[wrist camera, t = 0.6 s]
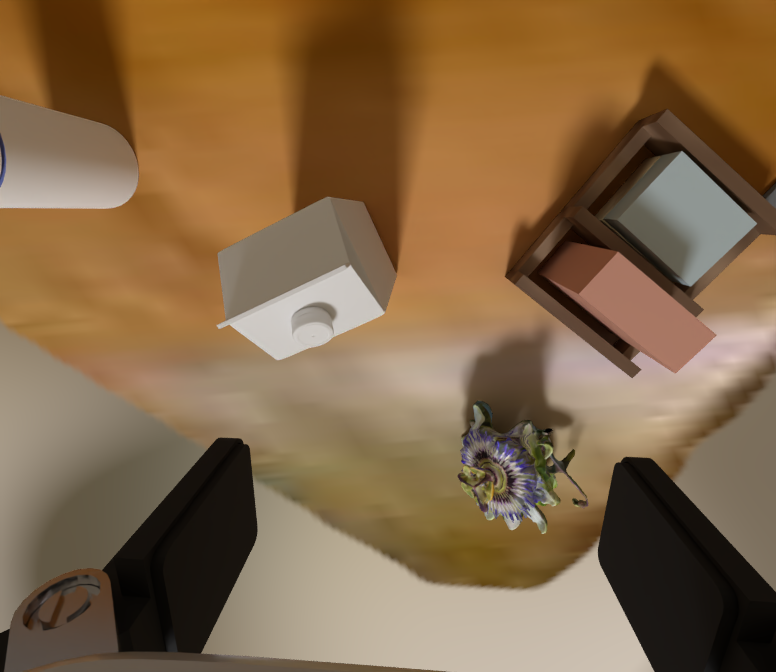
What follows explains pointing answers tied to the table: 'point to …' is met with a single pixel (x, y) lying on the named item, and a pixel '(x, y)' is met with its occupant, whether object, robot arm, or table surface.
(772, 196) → the slate mat
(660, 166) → the offcut upper
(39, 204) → the cylindrical container
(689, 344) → the pink rectangular block
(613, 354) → the rack
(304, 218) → the milk carton
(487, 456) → the passion flower
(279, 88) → the table surface
